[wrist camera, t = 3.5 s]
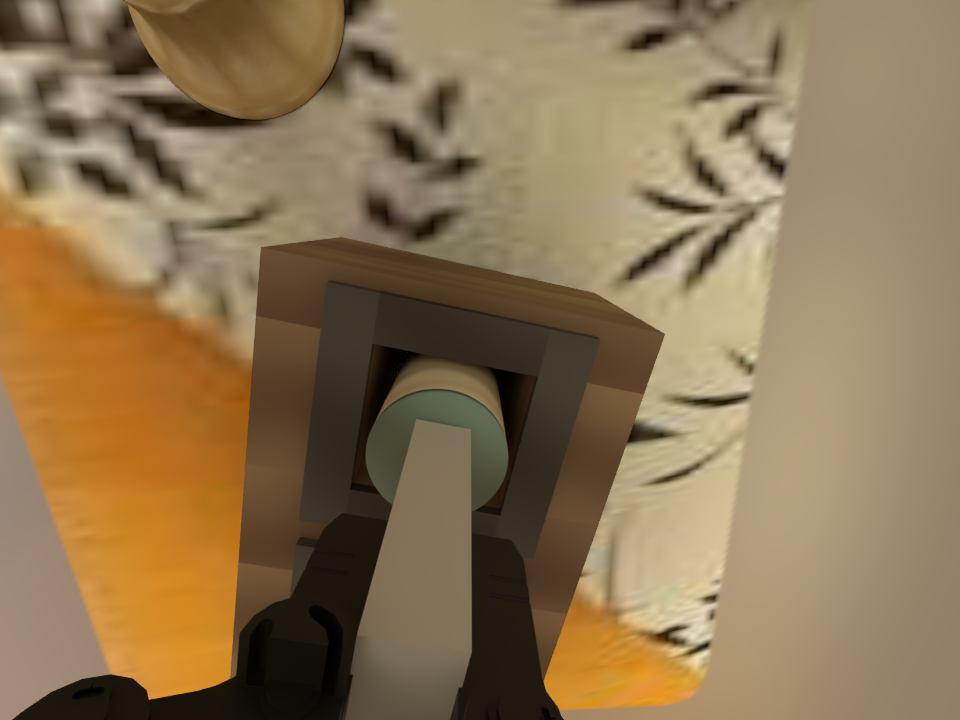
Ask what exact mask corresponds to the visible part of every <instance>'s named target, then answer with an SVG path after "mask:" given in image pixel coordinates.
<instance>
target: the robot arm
mask: <svg viewBox="0 0 960 720" xmlns="http://www.w3.org/2000/svg"><path fill="white" fill-rule="evenodd" d="M529 600H530V597H529V591H528V585H527V578H526V572H525V565H524V559H523V558H522V556H521V555H520V553H519V551H518V550H517V548H516V547H515V545H514V544H513V542H512V540H509V539H503V538H497V537H491V536H485V535H479V534H474V533H471V429H466V428H461V427H455V426H450V425H445V424H440V423H434V422H429V421H424V420H419V419H416V423H415V426H414V430H413V434H412V437H411V441H410V444H409V448H408V452H407V455H406V459H405V463H404V466H403V470H402V473H401V477H400V481H399V484H398V488H397V491H396V495H395V499H394V502H393V506H392V510H391V513H390V517H389V520H388V521H387V520H381V519H375V518H369V517H363V516H357V515H351V514H346V513H342V514H340V515H339V516H338V517H337V518H336V519H334V520H333V521H332V522H331V523H330V524H328V525H327V526H326V527H325V528H324V529H323V531H322V533H321V535H320V537H319V540H318V542H317V544H316V546H315V548H314V551H313V552H312V554H311V556H310V558H309V560H308V562H307V564H306V568H305V570H304V571H303V573H302V575H301V577H300V579H299V581H298V583H297V585H296V587H295V589H294V592H293V594H292V596H291V598H288V599H284V600H281V601H278V602H275V603H272V604H271V605H269V606H268V607H266V608H265V609H263V610H262V611H260V612H258V613H257V614H255V615H254V616H253V617H252V618H251V620H250V621H249V622H248V623H247V625H246V626H245V627H244V628H243V629H242V631H241V632H240V633H239V646H238V659H237V671H236V676H235V677H233V678H231V679H229V680H227V681H225V682H223V683H221V684H219V685H217V686H213V687H210V688H206V689H202V690H199V691H194V692H189V693H184V694H178V695H173V696H167V697H162V698H156V699H151V700H149V699H148V694H147V690H146V689H144V688H143V687H142V686H141V685H140V684H138V683H137V682H136V681H135V680H134V679H133V678H128V677H122V676H116V675H111V674H110V675H104V676H98V677H92V678H86V679H81V680H79V681H76V682H74V683H72V684H69V685H67V686H65V687H62V688H60V689H57V690H55V691H53V692H51V693H49V694H48V695H46V696H45V697H43V698H42V699H40V700H39V701H37V702H36V703H35V704H33V705H32V706H30V707H29V708H27V709H26V710H24V711H23V712H21V713H20V714H19V715H18V716H17V717H15V718H14V719H13V720H564V719H563V718H562V717H561V715H560V712H559V709H558V707H557V706H556V704H555V703H554V701H553V700H552V699H551V697H550V696H549V695H548V693H547V692H546V689H545V686H544V682H543V678H542V673H541V667H540V660H539V654H538V648H537V641H536V635H535V629H534V622H533V616H532V610H531V604H530V603H529Z"/></svg>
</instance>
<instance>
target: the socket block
mask: <svg viewBox="0 0 960 720" xmlns="http://www.w3.org/2000/svg"><path fill="white" fill-rule="evenodd" d="M664 335H665V334H664V333H662V332H660V331H659V330H657V329H655V328H654V327H652V326H650V325H648V324H647V323H645V322H643V321H642V320H640V319H638V318H636V317H635V316H633V315H631V314H630V313H628V312H626V311H624V310H623V309H621V308H619V307H618V306H616V305H614V304H612V303H611V302H609V301H607V300H606V299H604V298H602V297H600V296H599V295H597V294H595V293H591V292H587V291H582V290H578V289H573V288H569V287H564V286H560V285H555V284H551V283H546V282H542V281H537V280H532V279H528V278H523V277H519V276H514V275H510V274H505V273H501V272H496V271H492V270H487V269H483V268H478V267H473V266H469V265H464V264H460V263H455V262H451V261H446V260H442V259H437V258H433V257H428V256H424V255H419V254H414V253H410V252H405V251H401V250H396V249H392V248H387V247H383V246H378V245H374V244H369V243H365V242H360V241H355V240H351V239H346V238H342V237H340V238H332V239H323V240H315V241H307V242H299V243H291V244H283V245H275V246H267V247H261V255H260V269H259V283H258V297H257V311H256V325H255V339H254V354H253V368H252V382H251V396H250V410H249V424H248V438H247V452H246V466H245V480H244V494H243V508H242V522H241V536H240V550H239V564H238V578H237V592H236V606H235V620H234V634H233V648H232V662H231V676H230V679H231V678H233V677H235V676H236V671H237V659H238V646H239V633H240V632H241V631H242V629H243V628H244V627H245V626H246V625H247V623H248V622H249V621H250V620H251V618H252V617H253V616H254V615H255V614H257V613H258V612H260V611H262V610H263V609H265V608H266V607H268V606H269V605H271V604H272V603H275V602H278V601H281V600H284V599H288V598H291V596H292V594H293V592H294V589H295V587H296V585H297V583H298V581H299V579H300V577H301V575H302V573H303V571H304V570H305V568H306V564H307V562H308V560H309V558H310V556H311V554H312V552H313V551H314V548H315V546H316V544H317V542H318V540H319V537H320V535H321V533H322V531H323V529H324V528H325V527H326V526H327V525H328V524H330V523H331V522H332V521H333V520H334V519H336V518H337V517H338V516H339V515H340V514H342V513H346V514H351V515H357V516H363V517H369V518H375V519H381V520H387V521H388V520H389V517H390V513H391V510H392V506H393V505H392V504H391V503H389V502H388V501H387V500H386V499H385V498H384V497H383V496H382V495H381V494H380V493H379V492H378V490H377V489H376V487H375V486H374V484H373V482H372V480H371V478H370V476H369V473H368V470H367V465H366V456H365V453H366V444H367V440H368V437H369V434H370V432H371V429H372V427H373V425H374V423H375V421H376V419H377V417H378V415H379V413H380V411H381V409H382V406H383V404H384V402H385V400H386V398H387V396H388V394H389V392H390V390H391V388H392V386H393V384H394V381H395V379H396V376H397V370H398V364H399V359H400V353H401V349H402V350H407V351H412V352H417V353H422V354H427V355H432V356H437V357H442V358H447V359H451V360H456V361H461V362H466V363H471V364H476V365H481V366H486V367H491V368H496V369H501V370H500V374H499V378H498V383H497V385H498V391H499V397H500V403H501V410H502V416H503V422H504V428H505V435H506V441H507V447H508V466H507V472H506V475H505V477H504V480H503V482H502V484H501V486H500V488H499V489H498V490H497V492H496V493H495V494H494V496H493V497H492V498H491V499H490V500H489V501H488V502H486V503H485V504H484V505H483V506H481V507H480V508H478V509H476V510H475V511H472V512H471V533H474V534H479V535H485V536H491V537H497V538H503V539H509V540H512V542H513V544H514V545H515V547H516V548H517V550H518V551H519V553H520V555H521V556H522V558H523V559H524V565H525V572H526V578H527V585H528V591H529V597H530V600H529V603H530V604H531V610H532V616H533V622H534V629H535V635H536V641H537V648H538V654H539V660H540V667H541V673H542V678H543V681H544V678H545V675H546V672H547V669H548V666H549V663H550V661H551V658H552V655H553V652H554V649H555V646H556V643H557V641H558V638H559V635H560V632H561V629H562V626H563V624H564V621H565V618H566V615H567V612H568V609H569V606H570V604H571V601H572V598H573V595H574V592H575V589H576V586H577V584H578V581H579V578H580V575H581V572H582V569H583V566H584V564H585V561H586V558H587V555H588V552H589V549H590V546H591V544H592V541H593V538H594V535H595V532H596V529H597V527H598V524H599V521H600V518H601V515H602V512H603V509H604V507H605V504H606V501H607V498H608V495H609V492H610V489H611V487H612V484H613V481H614V478H615V475H616V472H617V469H618V467H619V464H620V461H621V458H622V455H623V452H624V449H625V447H626V444H627V441H628V438H629V435H630V432H631V430H632V427H633V424H634V421H635V418H636V415H637V412H638V410H639V407H640V404H641V401H642V398H643V395H644V392H645V390H646V387H647V384H648V381H649V378H650V375H651V372H652V370H653V367H654V364H655V361H656V358H657V355H658V352H659V350H660V347H661V344H662V341H663V338H664Z"/></svg>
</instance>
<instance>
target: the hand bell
mask: <svg viewBox="0 0 960 720" xmlns="http://www.w3.org/2000/svg"><path fill="white" fill-rule="evenodd" d="M124 1H125V2H126V3H127V4H128V7H129V11H130V14H131V17H132V19H133V22H134V25H135V27H136V29H137V32H138V34H139V36H140V38H141V40H142V42H143V44H144V46H145V47H146V49H147V51H148V52H149V54H150V55H151V57H152V58H153V60H154V61H155V63H156V64H157V66H158V67H159V68H160V69H161V71H162V72H163V73H164V74H165V75H166V76H167V78H168V79H169V80H170V81H171V82H172V83H173V84H174V85H175V86H176V87H177V88H179V89H180V90H181V91H182V92H184V93H185V94H186V95H187V96H189V97H190V98H192V99H193V100H194V101H196V102H198V103H200V104H201V105H203V106H205V107H207V108H208V109H210V110H212V111H214V112H217V113H220V114H224V115H227V116H230V117H234V118H240V119H250V120H260V119H269V118H274V117H278V116H281V115H283V114H286V113H289V112H291V111H293V110H294V109H296V108H298V107H299V106H301V105H303V104H304V103H306V102H307V101H308V100H309V99H310V98H311V97H312V96H313V95H314V94H315V93H316V92H317V91H318V90H319V89H320V87H321V86H322V85H323V84H324V82H325V81H326V79H327V78H328V76H329V74H330V73H331V71H332V68H333V66H334V64H335V62H336V60H337V57H338V54H339V50H340V46H341V42H342V38H343V31H344V19H345V18H344V0H124Z"/></svg>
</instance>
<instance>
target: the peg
mask: <svg viewBox="0 0 960 720" xmlns="http://www.w3.org/2000/svg"><path fill="white" fill-rule="evenodd" d="M416 419H419V420H424V421H429V422H434V423H440V424H445V425H450V426H455V427H461V428H466V429H471V512H472V511H475V510H476V509H478V508H480V507H481V506H483V505H484V504H485V503H486V502H488V501H489V500H490V499H491V498H492V497H493V496H494V494H495V493H496V492H497V490H498V489H499V488H500V486H501V484H502V482H503V480H504V477H505V475H506V472H507V466H508V447H507V441H506V435H505V428H504V422H503V416H502V410H501V403H500V397H499V391H498V385H497V378H496V372H495V368H491V367H486V366H481V365H476V364H471V363H466V362H461V361H456V360H451V359H447V358H442V357H437V356H432V355H427V354H422V353H417V352H412V351H409V352H408V354H407V356H406V359H405V361H404V363H403V365H402V367H401V369H400V371H399V373H398V375H397V377H396V379H395V381H394V384H393V386H392V388H391V390H390V392H389V394H388V396H387V398H386V400H385V402H384V404H383V406H382V409H381V411H380V413H379V415H378V417H377V419H376V421H375V423H374V425H373V427H372V429H371V432H370V434H369V437H368V440H367V444H366V453H365V456H366V465H367V470H368V473H369V476H370V478H371V480H372V482H373V484H374V486H375V487H376V489H377V490H378V492H379V493H380V494H381V495H382V496H383V497H384V498H385V499H386V500H387V501H388V502H389V503H391V504H392V505H393V502H394V499H395V495H396V491H397V488H398V484H399V481H400V477H401V473H402V470H403V466H404V463H405V459H406V455H407V452H408V448H409V444H410V441H411V437H412V434H413V430H414V426H415V423H416Z"/></svg>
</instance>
